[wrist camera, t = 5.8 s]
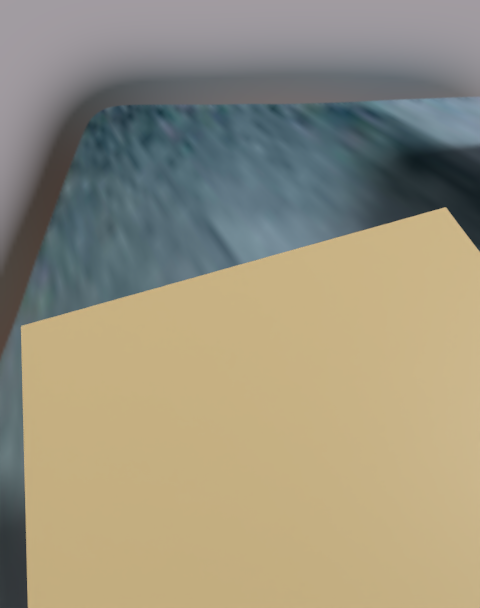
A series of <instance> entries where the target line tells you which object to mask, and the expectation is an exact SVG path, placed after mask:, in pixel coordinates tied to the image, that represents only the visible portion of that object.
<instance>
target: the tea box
mask: <svg viewBox="0 0 480 608" xmlns="http://www.w3.org/2000/svg"><path fill="white" fill-rule="evenodd" d="M21 344H22V386H23V428H24V470H25V511H26V553H27V595H28V608H480V252H479V250H478V249H477V248H476V246H475V245H474V244H473V242H472V241H471V240H470V238H469V237H468V236H467V235H466V233H465V232H464V231H463V229H462V228H461V227H460V225H459V224H458V223H457V221H456V220H455V219H454V217H453V216H452V215H451V213H450V212H449V211H448V209H447V208H446V207H444V208H441V209H437V210H434V211H430V212H427V213H423V214H419V215H416V216H412V217H409V218H405V219H402V220H398V221H394V222H391V223H387V224H384V225H380V226H377V227H373V228H369V229H366V230H362V231H359V232H355V233H352V234H348V235H344V236H341V237H337V238H334V239H330V240H327V241H323V242H320V243H316V244H312V245H309V246H305V247H302V248H298V249H295V250H291V251H287V252H284V253H280V254H277V255H273V256H270V257H266V258H262V259H259V260H255V261H252V262H248V263H245V264H241V265H237V266H234V267H230V268H227V269H223V270H220V271H216V272H212V273H209V274H205V275H202V276H198V277H195V278H191V279H187V280H184V281H180V282H177V283H173V284H170V285H166V286H163V287H159V288H155V289H152V290H148V291H145V292H141V293H138V294H134V295H130V296H127V297H123V298H120V299H116V300H113V301H109V302H105V303H102V304H98V305H95V306H91V307H88V308H84V309H80V310H77V311H73V312H70V313H66V314H63V315H59V316H55V317H52V318H48V319H45V320H41V321H38V322H34V323H30V324H27V325H23V326H21Z"/></svg>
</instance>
